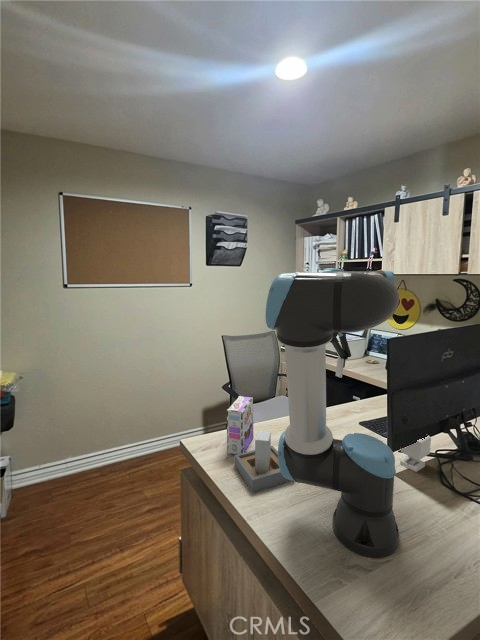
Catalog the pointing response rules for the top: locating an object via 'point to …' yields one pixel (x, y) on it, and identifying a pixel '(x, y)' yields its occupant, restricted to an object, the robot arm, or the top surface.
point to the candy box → (239, 425)
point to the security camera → (416, 454)
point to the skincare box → (262, 452)
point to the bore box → (262, 480)
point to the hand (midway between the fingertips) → (321, 376)
